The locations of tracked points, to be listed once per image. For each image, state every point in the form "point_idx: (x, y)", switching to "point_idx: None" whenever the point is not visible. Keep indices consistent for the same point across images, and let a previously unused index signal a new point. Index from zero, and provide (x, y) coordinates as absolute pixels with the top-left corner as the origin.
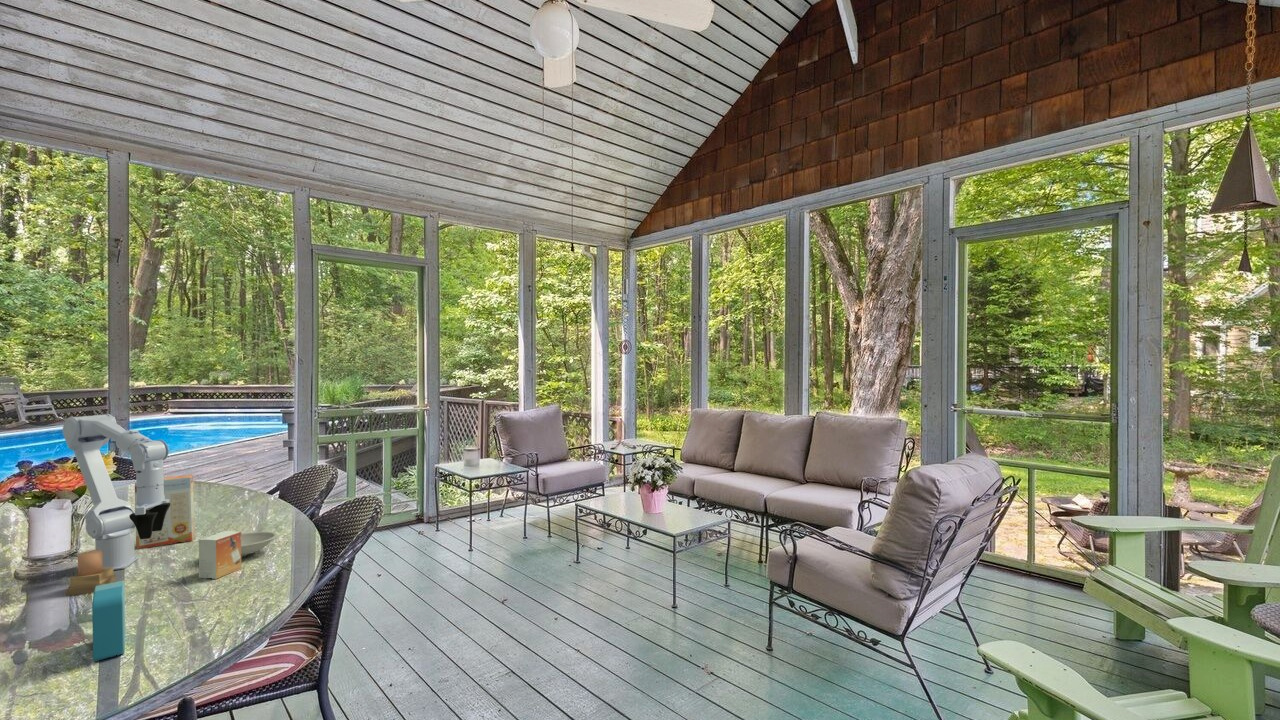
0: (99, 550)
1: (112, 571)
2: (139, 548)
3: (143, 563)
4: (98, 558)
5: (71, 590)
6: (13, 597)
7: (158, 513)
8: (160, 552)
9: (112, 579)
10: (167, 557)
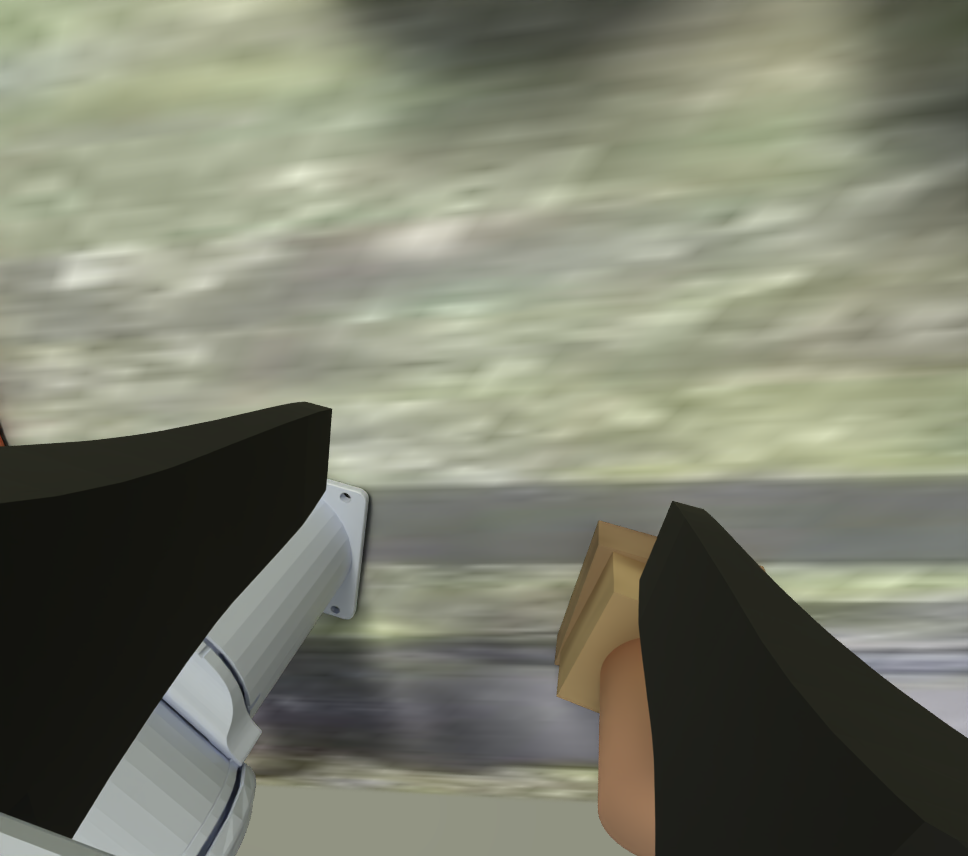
0: (630, 778)
1: (622, 575)
2: (2, 442)
3: None
4: None
5: None
6: (547, 794)
7: (140, 577)
8: (102, 339)
9: (633, 545)
10: (228, 291)
